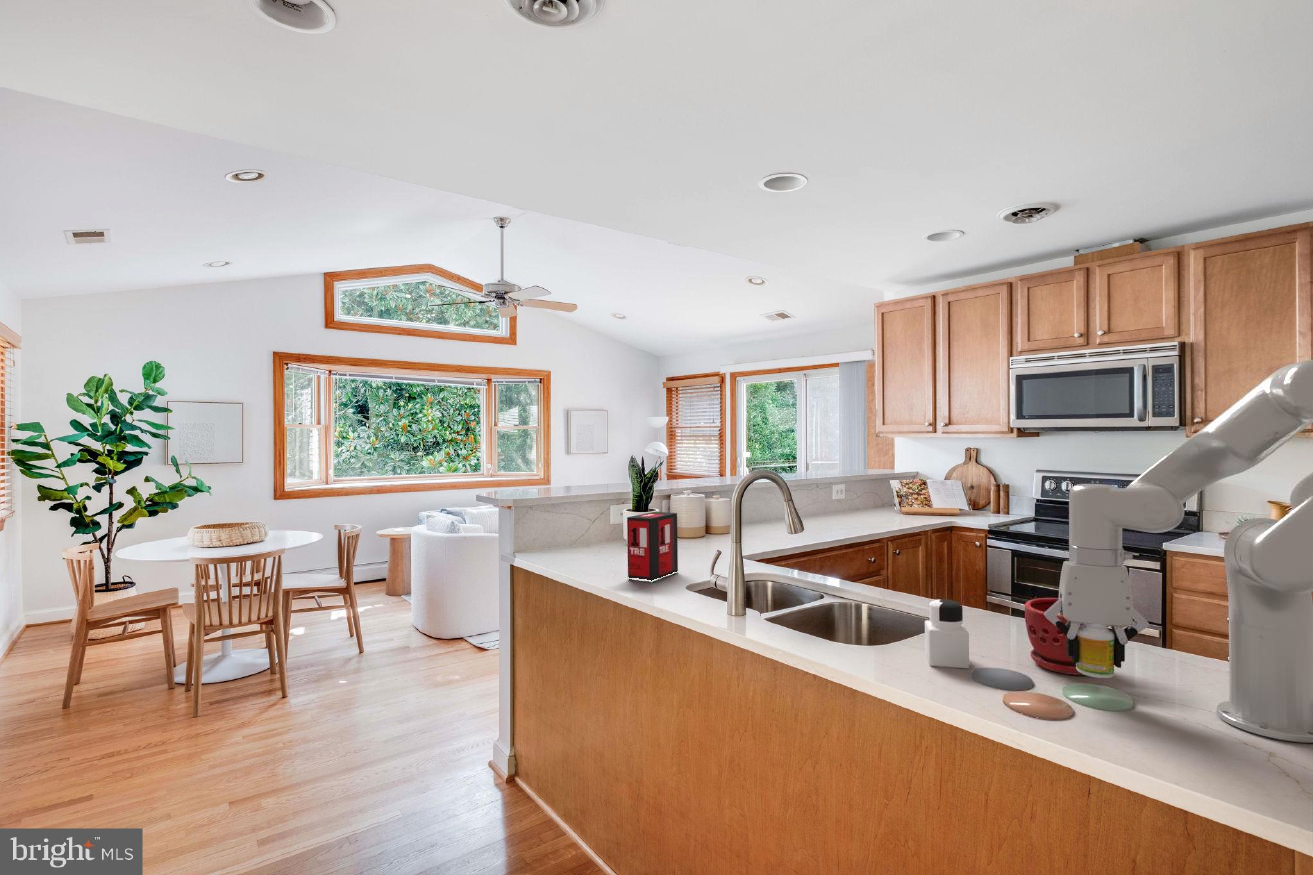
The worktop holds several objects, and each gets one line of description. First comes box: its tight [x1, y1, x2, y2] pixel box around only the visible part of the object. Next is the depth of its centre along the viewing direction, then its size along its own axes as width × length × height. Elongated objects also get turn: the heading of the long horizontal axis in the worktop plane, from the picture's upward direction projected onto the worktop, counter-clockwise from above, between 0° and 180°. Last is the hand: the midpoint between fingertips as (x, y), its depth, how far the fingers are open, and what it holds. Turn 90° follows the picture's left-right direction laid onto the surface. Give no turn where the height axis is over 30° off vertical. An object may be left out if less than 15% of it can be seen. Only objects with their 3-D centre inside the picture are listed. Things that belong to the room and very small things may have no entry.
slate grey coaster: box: [971, 667, 1034, 691], centre depth 120 cm, size 10×10×1 cm
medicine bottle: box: [924, 598, 970, 670], centre depth 130 cm, size 7×7×12 cm
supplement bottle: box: [1076, 624, 1115, 679], centre depth 111 cm, size 5×5×10 cm
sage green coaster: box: [1061, 682, 1134, 712], centre depth 111 cm, size 10×10×1 cm
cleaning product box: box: [626, 511, 679, 581], centre depth 212 cm, size 16×9×20 cm, turn 148°
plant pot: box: [1024, 597, 1084, 676], centre depth 126 cm, size 13×13×12 cm
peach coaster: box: [1002, 690, 1074, 720], centre depth 108 cm, size 10×10×1 cm
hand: (1094, 661), depth 111 cm, fingers closed on supplement bottle, 5 cm apart
